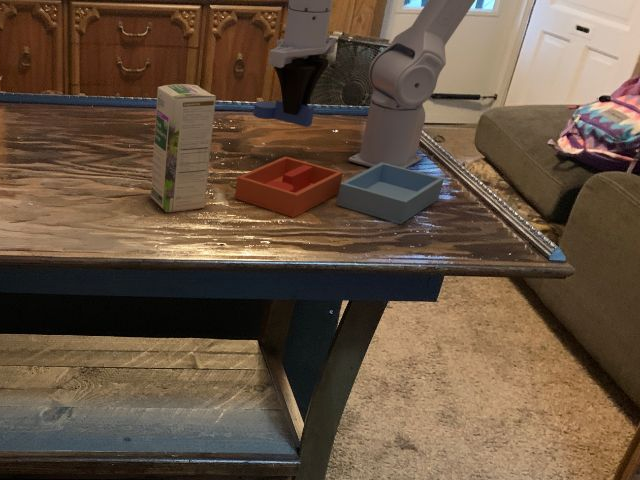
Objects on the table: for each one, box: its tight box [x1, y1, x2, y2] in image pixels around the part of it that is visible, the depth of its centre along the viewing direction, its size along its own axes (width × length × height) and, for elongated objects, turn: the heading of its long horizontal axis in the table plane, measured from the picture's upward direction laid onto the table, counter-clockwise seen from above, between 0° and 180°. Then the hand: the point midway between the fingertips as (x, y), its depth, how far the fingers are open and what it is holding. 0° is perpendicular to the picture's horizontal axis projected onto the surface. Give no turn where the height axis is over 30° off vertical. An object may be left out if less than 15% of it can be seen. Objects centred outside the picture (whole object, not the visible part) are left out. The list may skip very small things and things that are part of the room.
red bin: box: [234, 155, 344, 218], centre depth 103 cm, size 12×9×3 cm
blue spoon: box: [252, 98, 315, 128], centre depth 111 cm, size 9×4×3 cm, turn 48°
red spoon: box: [266, 165, 313, 193], centre depth 103 cm, size 9×4×3 cm, turn 139°
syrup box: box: [150, 83, 217, 213], centre depth 96 cm, size 6×6×14 cm
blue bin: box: [336, 162, 445, 225], centre depth 102 cm, size 12×9×3 cm
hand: (294, 112), depth 110 cm, fingers closed on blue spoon
